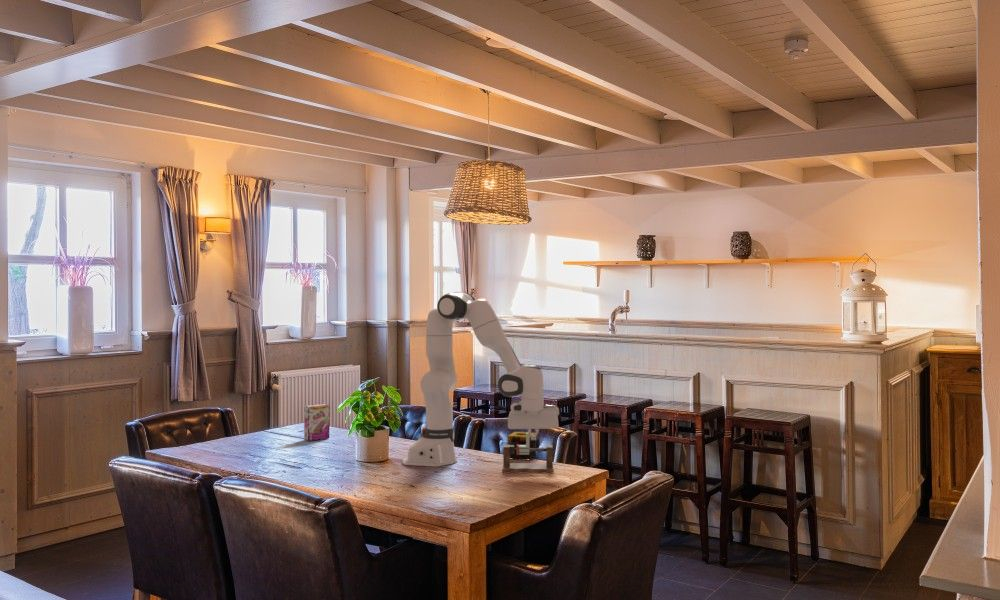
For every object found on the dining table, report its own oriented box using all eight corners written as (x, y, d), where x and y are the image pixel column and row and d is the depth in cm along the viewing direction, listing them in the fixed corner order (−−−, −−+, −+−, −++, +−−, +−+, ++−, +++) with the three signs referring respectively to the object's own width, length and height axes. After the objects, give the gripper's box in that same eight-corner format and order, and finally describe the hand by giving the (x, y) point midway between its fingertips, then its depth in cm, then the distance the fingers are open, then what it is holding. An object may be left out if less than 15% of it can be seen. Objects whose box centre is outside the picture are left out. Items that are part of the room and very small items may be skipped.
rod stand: (502, 472, 313) (502, 447, 313) (503, 466, 323) (503, 442, 322) (553, 472, 312) (553, 447, 311) (553, 467, 322) (553, 442, 321)
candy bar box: (308, 441, 376) (308, 407, 376) (303, 440, 380) (303, 405, 380) (330, 438, 383) (329, 404, 383) (325, 437, 387) (324, 403, 387)
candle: (530, 460, 334) (529, 437, 334) (507, 459, 337) (506, 435, 337) (536, 455, 344) (536, 432, 343) (514, 454, 347) (514, 431, 347)
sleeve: (519, 454, 316) (519, 433, 315) (519, 452, 319) (519, 432, 319) (529, 454, 315) (529, 434, 315) (529, 452, 319) (529, 432, 318)
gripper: (558, 403, 319) (559, 438, 319) (507, 404, 320) (508, 438, 320) (559, 405, 313) (559, 441, 313) (507, 406, 314) (507, 441, 314)
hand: (533, 440), depth 317 cm, fingers closed
